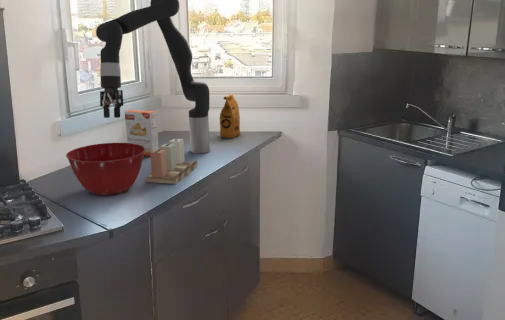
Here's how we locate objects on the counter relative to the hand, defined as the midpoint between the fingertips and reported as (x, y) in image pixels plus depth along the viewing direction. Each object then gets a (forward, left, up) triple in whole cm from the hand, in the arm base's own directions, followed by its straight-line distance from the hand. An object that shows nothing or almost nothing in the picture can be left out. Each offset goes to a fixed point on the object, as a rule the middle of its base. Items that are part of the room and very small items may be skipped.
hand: (111, 117), depth 198 cm
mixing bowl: (+10, -2, -26) cm, 28 cm away
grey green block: (-6, +20, -24) cm, 32 cm away
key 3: (+3, +17, -24) cm, 29 cm away
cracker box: (-40, +7, -26) cm, 49 cm away
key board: (-5, +22, -26) cm, 34 cm away
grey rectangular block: (-14, +24, -24) cm, 36 cm away
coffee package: (-68, +51, -26) cm, 89 cm away
